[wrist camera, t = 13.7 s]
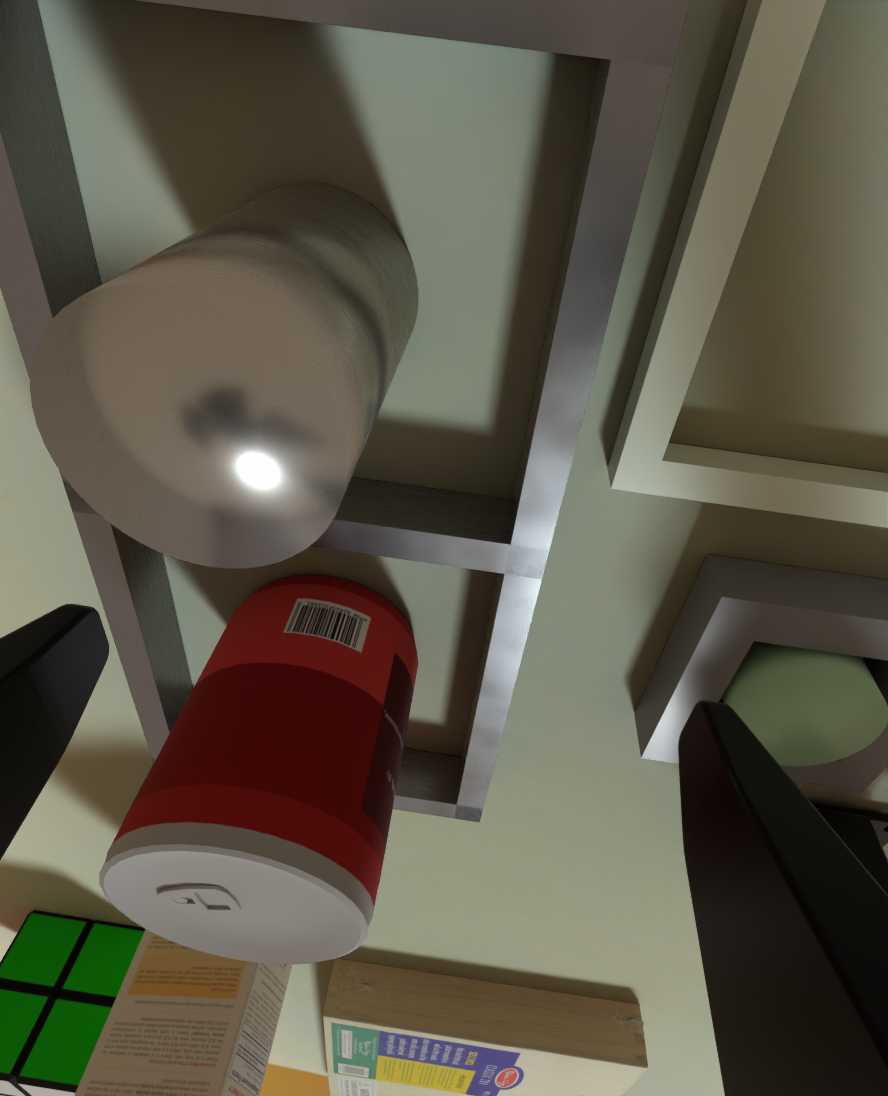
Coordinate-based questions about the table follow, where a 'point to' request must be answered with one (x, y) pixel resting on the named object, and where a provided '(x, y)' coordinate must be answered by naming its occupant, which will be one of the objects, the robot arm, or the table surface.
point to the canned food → (275, 781)
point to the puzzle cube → (58, 999)
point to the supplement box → (187, 1025)
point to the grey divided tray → (368, 505)
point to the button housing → (771, 617)
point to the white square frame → (695, 289)
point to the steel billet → (231, 377)
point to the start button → (807, 703)
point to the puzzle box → (473, 1037)
